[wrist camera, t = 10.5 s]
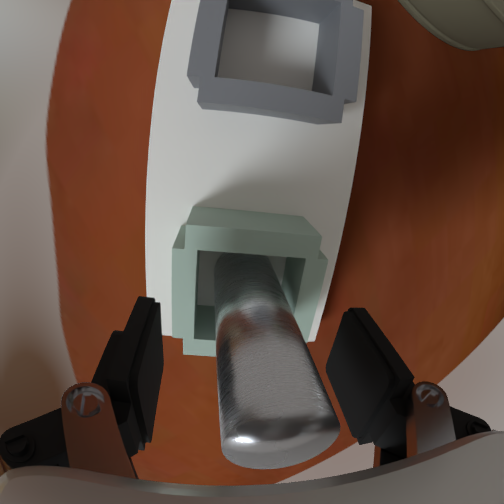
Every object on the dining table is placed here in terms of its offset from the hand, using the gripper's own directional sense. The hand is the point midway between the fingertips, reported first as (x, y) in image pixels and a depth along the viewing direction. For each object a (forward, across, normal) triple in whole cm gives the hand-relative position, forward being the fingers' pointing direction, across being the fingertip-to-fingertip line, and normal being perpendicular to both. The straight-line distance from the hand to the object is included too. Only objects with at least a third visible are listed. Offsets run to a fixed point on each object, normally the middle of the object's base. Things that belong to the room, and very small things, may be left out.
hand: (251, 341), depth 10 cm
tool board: (+7, 0, -6) cm, 9 cm away
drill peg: (+6, 0, 0) cm, 6 cm away
